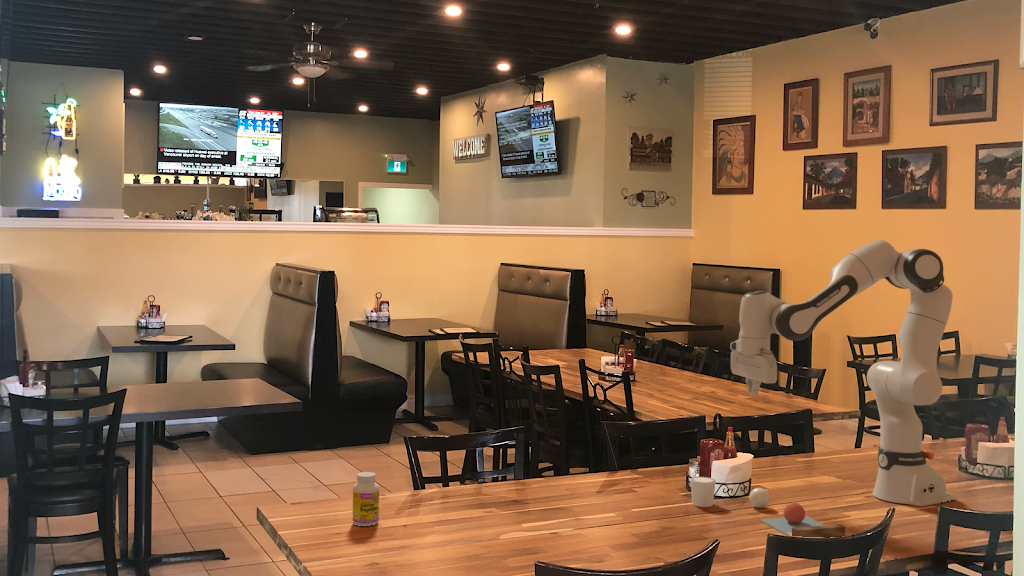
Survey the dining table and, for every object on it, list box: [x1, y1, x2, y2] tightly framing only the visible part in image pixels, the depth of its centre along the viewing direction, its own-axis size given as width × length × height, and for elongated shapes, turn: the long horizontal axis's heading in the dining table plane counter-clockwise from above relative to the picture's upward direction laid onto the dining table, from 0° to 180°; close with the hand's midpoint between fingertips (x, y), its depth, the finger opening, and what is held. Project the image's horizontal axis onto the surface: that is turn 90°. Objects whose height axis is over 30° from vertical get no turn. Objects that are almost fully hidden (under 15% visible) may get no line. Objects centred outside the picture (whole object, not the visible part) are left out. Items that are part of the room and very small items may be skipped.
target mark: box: [760, 515, 825, 536], centre depth 235 cm, size 14×14×1 cm
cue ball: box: [748, 487, 770, 509], centre depth 251 cm, size 5×5×5 cm
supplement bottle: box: [352, 471, 380, 526], centre depth 233 cm, size 7×7×13 cm
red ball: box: [783, 502, 806, 524], centre depth 238 cm, size 5×5×5 cm
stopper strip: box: [792, 523, 846, 538], centre depth 227 cm, size 14×2×2 cm, turn 106°
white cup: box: [690, 476, 717, 508], centre depth 254 cm, size 7×7×7 cm
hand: (752, 394), depth 264 cm, fingers closed
